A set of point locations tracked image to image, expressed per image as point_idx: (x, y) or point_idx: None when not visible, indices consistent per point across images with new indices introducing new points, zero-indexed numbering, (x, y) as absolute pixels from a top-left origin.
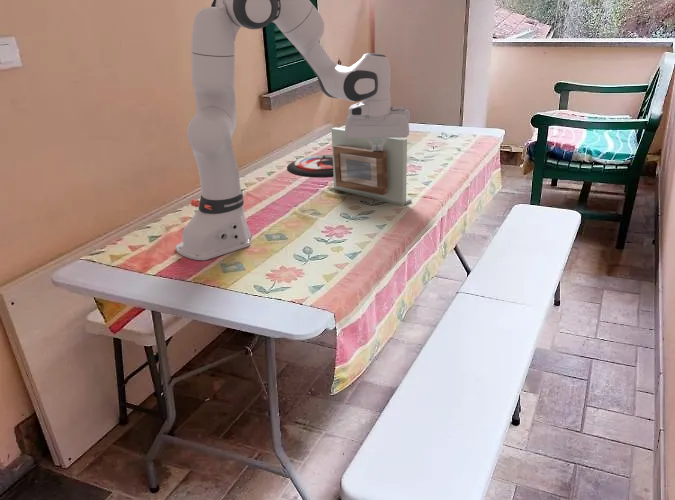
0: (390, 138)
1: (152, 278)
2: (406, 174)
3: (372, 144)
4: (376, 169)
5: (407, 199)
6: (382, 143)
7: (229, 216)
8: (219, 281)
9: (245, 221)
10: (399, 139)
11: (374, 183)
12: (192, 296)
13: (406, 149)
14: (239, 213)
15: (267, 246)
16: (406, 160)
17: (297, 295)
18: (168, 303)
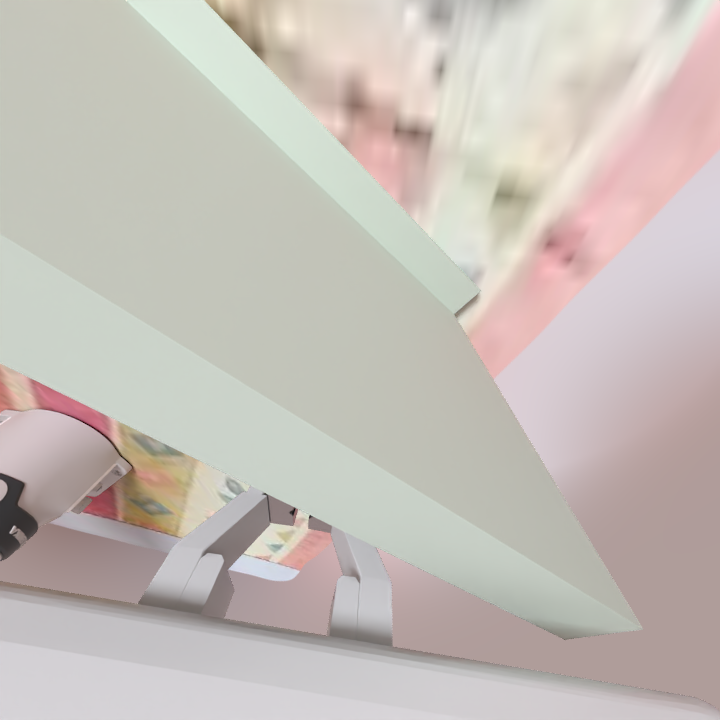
0: (451, 583)
1: (73, 512)
2: (487, 370)
3: (250, 541)
4: None
5: (465, 294)
6: (344, 568)
7: (47, 522)
8: (158, 526)
9: (77, 485)
10: (545, 619)
11: None
12: (150, 540)
13: (561, 501)
14: (53, 515)
15: (163, 470)
16: (519, 426)
17: (259, 552)
18: (136, 544)
